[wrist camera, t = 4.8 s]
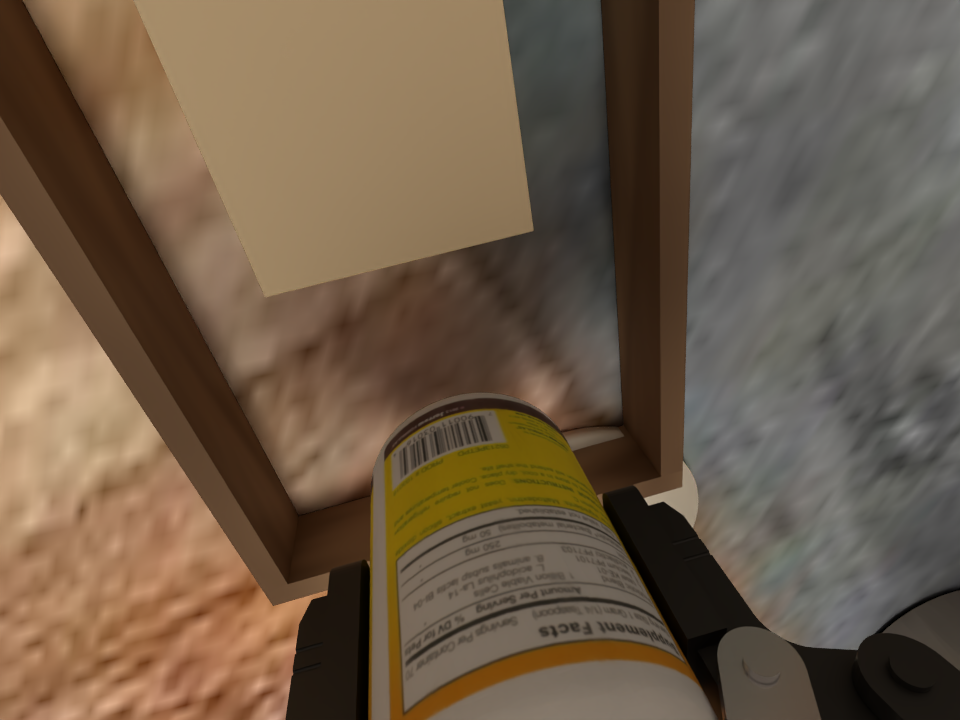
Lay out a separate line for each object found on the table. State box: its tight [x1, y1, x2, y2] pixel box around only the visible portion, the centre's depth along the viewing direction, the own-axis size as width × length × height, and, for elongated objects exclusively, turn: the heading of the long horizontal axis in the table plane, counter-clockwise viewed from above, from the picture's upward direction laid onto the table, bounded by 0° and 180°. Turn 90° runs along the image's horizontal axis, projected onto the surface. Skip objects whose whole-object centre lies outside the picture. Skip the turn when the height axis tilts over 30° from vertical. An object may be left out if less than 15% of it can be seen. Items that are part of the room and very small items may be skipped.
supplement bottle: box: [368, 393, 718, 720], centre depth 10 cm, size 6×6×10 cm
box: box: [133, 0, 534, 297], centre depth 11 cm, size 5×5×6 cm
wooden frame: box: [0, 0, 695, 606], centre depth 14 cm, size 15×19×3 cm
